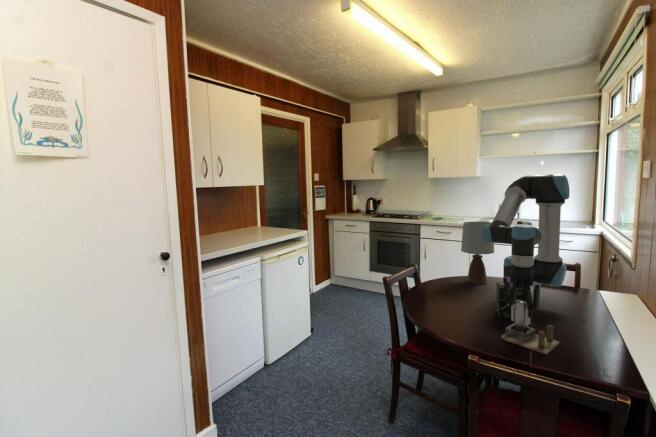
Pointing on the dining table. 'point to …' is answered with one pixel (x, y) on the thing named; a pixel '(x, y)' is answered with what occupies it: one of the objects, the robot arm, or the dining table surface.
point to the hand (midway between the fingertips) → (520, 322)
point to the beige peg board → (531, 338)
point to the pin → (520, 315)
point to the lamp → (476, 250)
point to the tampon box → (504, 306)
